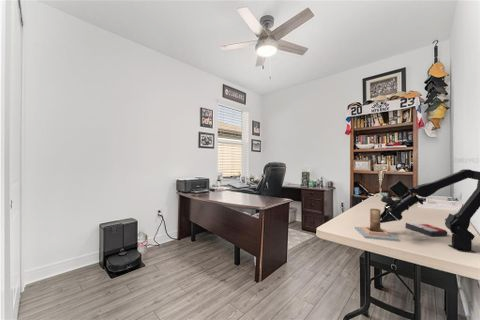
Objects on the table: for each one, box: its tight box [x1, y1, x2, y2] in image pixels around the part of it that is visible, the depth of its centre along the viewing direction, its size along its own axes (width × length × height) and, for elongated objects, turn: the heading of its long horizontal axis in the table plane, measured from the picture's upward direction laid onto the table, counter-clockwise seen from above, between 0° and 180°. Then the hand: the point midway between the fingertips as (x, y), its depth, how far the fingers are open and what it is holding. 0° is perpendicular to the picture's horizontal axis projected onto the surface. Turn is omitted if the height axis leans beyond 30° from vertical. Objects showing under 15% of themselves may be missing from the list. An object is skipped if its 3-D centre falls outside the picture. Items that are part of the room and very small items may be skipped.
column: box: [369, 208, 382, 232], centre depth 111 cm, size 5×5×13 cm
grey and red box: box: [405, 221, 448, 238], centre depth 118 cm, size 11×4×15 cm
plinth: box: [354, 225, 400, 242], centre depth 111 cm, size 16×16×2 cm
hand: (379, 220), depth 110 cm, fingers open, 9 cm apart
